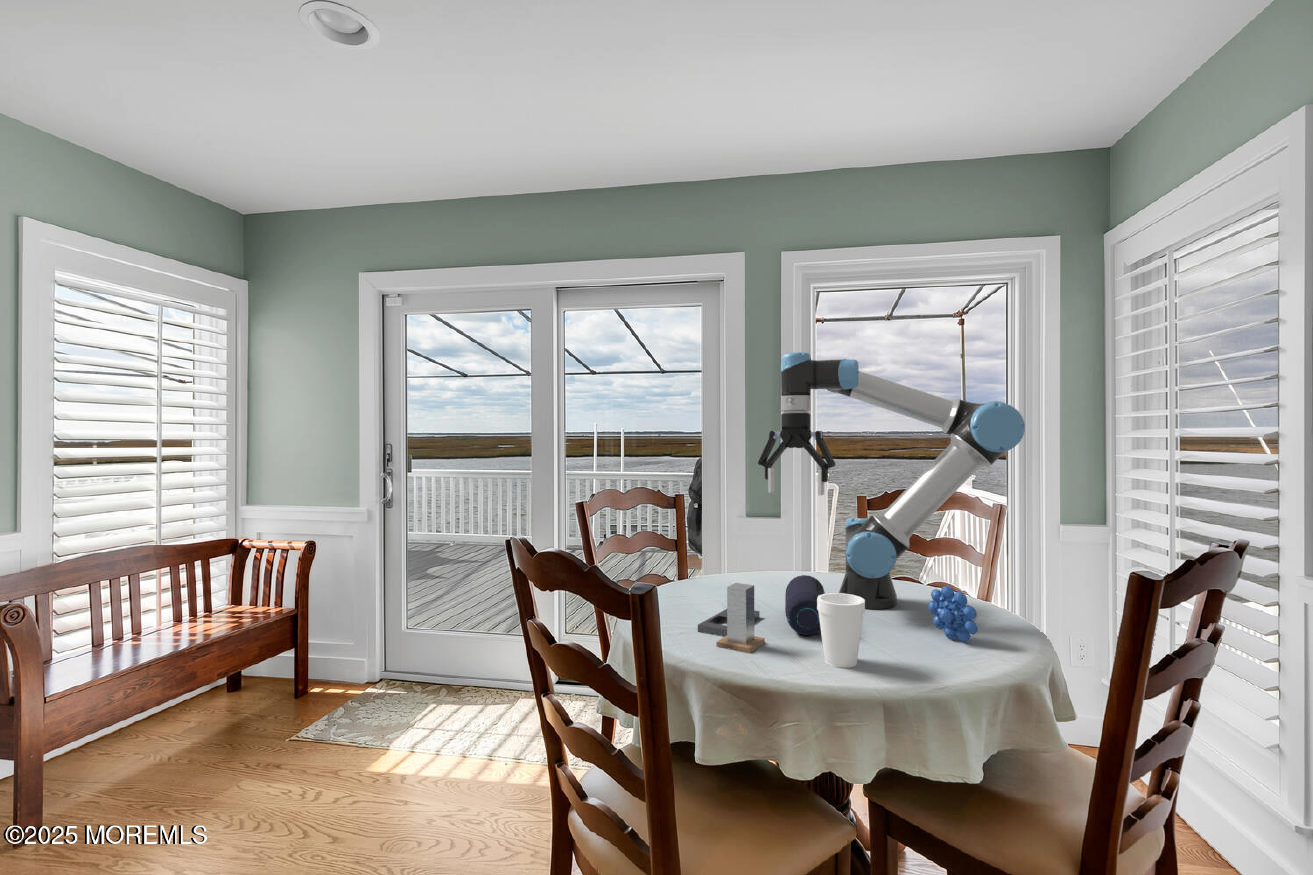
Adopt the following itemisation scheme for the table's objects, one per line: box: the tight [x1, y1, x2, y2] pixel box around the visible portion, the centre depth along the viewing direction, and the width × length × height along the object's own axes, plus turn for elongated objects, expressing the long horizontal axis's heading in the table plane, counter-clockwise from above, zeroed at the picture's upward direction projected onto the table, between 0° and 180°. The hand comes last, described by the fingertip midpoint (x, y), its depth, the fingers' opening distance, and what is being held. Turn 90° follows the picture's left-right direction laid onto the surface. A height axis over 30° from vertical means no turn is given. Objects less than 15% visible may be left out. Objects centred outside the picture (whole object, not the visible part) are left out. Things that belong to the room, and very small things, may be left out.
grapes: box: [927, 585, 979, 643], centre depth 147 cm, size 12×7×12 cm, turn 36°
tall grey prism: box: [726, 582, 755, 645], centre depth 145 cm, size 4×4×12 cm
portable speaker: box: [784, 574, 826, 636], centre depth 160 cm, size 25×10×10 cm, turn 169°
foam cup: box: [817, 592, 866, 669], centre depth 134 cm, size 10×9×13 cm
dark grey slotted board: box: [697, 608, 761, 637], centre depth 159 cm, size 8×18×2 cm, turn 148°
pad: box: [716, 635, 766, 654], centre depth 145 cm, size 8×8×1 cm
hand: (795, 493), depth 171 cm, fingers open, 13 cm apart
